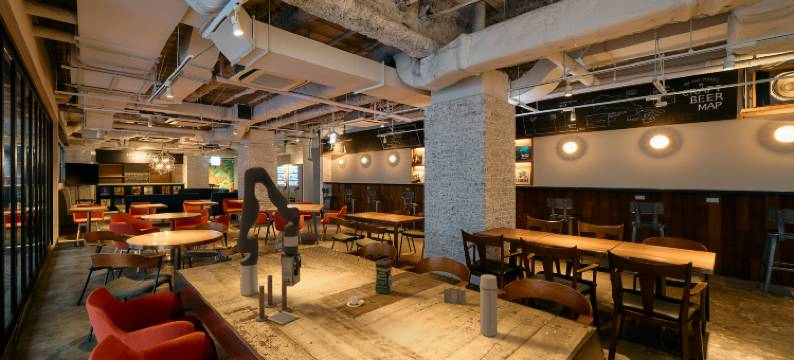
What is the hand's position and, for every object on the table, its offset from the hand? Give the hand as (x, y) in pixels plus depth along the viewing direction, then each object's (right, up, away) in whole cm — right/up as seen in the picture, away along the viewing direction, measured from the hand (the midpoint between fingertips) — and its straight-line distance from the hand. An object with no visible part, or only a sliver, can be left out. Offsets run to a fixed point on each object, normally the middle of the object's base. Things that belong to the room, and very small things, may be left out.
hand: (291, 274), depth 193 cm
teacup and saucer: (+36, -16, -5) cm, 40 cm away
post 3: (0, -16, -11) cm, 19 cm away
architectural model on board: (+89, -16, -1) cm, 90 cm away
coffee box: (0, -5, 0) cm, 6 cm away
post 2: (-10, -16, -4) cm, 19 cm away
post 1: (-8, -16, -21) cm, 28 cm away
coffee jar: (+50, -15, +16) cm, 55 cm away
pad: (+2, -16, -21) cm, 27 cm away
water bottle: (+97, -16, -40) cm, 106 cm away
